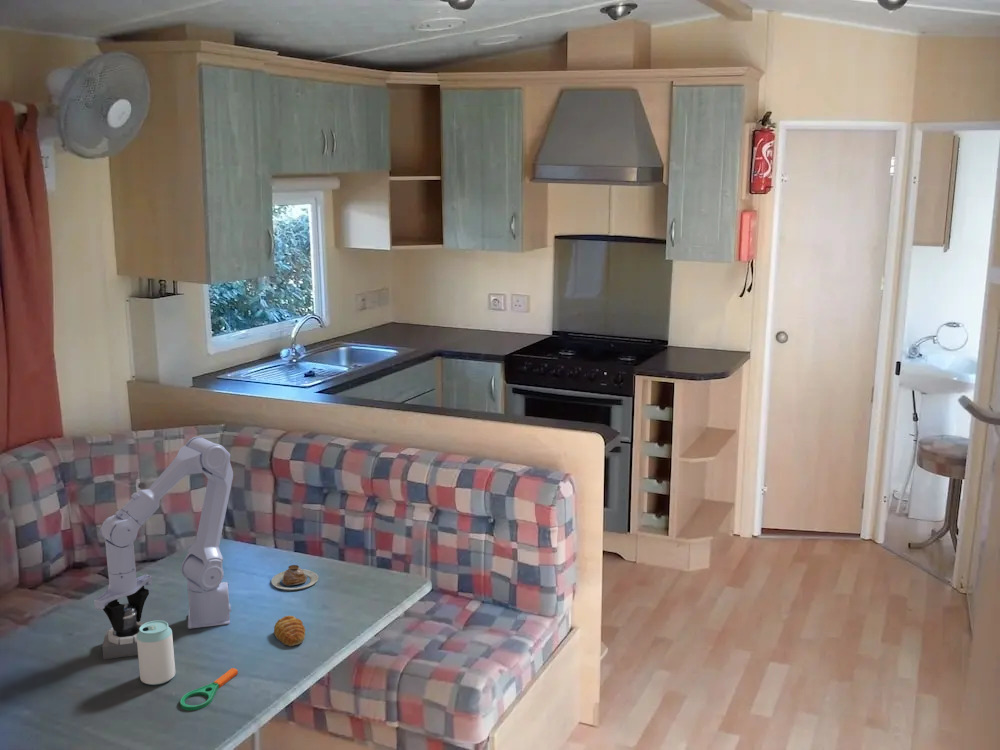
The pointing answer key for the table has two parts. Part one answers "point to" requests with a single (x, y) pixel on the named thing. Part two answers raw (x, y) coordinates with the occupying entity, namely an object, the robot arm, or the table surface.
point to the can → (155, 652)
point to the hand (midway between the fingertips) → (127, 625)
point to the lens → (128, 621)
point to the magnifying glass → (207, 691)
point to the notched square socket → (119, 644)
